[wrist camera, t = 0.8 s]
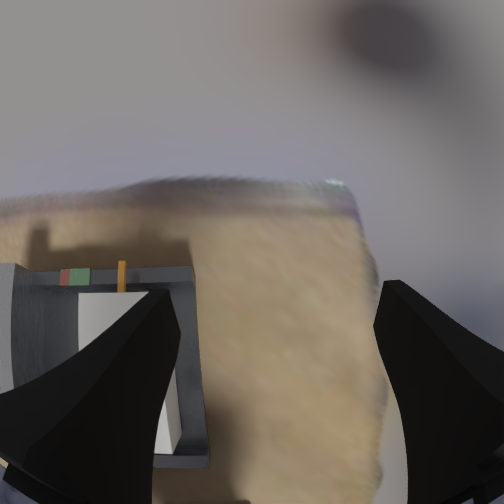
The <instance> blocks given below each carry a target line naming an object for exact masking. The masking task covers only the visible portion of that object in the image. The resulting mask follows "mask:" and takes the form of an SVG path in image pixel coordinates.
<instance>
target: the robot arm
mask: <svg viewBox="0 0 504 504" xmlns="http://www.w3.org/2000/svg"><path fill="white" fill-rule="evenodd" d="M373 328H374V332H375V336H376V341H377V345H378V349H379V352H380V355H381V358H382V360H383V363H384V366H385V369H386V371H387V374H388V377H389V380H390V382H391V385H392V388H393V391H394V394H395V397H396V399H397V403H398V406H399V410H400V414H401V419H402V425H403V431H404V437H405V445H406V454H407V468H408V501H407V504H504V352H503V351H501V350H499V349H497V348H496V347H494V346H492V345H491V344H489V343H487V342H486V341H484V340H482V339H481V338H479V337H478V336H476V335H474V334H473V333H471V332H470V331H468V330H467V329H466V328H464V327H463V326H461V325H460V324H459V323H457V322H456V321H454V320H453V319H452V318H450V317H449V316H448V315H446V314H445V313H444V312H442V311H441V310H440V309H439V308H437V307H436V306H435V305H433V304H432V303H431V302H429V301H428V300H427V299H426V298H424V297H423V296H422V295H420V294H419V293H418V292H416V291H415V290H414V289H412V288H411V287H410V286H408V285H407V284H405V283H404V282H402V281H401V280H389V281H384V283H383V288H382V292H381V296H380V301H379V305H378V309H377V313H376V317H375V321H374V324H373ZM180 338H181V331H180V327H179V324H178V321H177V317H176V314H175V310H174V307H173V303H172V299H171V296H170V292H169V289H152V290H151V291H150V292H148V293H147V294H146V295H145V296H144V297H142V298H141V299H140V300H139V301H138V302H137V303H136V304H134V305H133V306H132V307H131V308H130V309H129V310H128V311H127V312H126V313H124V314H123V315H122V316H121V317H120V318H119V319H118V320H117V321H116V322H114V323H113V324H112V325H111V326H110V327H109V328H107V329H106V330H105V331H104V332H103V333H101V334H100V335H99V336H98V337H97V338H95V339H94V340H93V341H92V342H91V343H89V344H88V345H87V346H86V347H84V348H83V349H82V350H80V351H79V352H77V353H76V354H75V355H73V356H72V357H70V358H69V359H67V360H66V361H64V362H63V363H61V364H60V365H58V366H56V367H55V368H53V369H51V370H50V371H48V372H46V373H44V374H43V375H41V376H39V377H37V378H36V379H34V380H32V381H30V382H28V383H25V384H23V385H21V386H19V387H17V388H14V389H12V390H9V391H7V392H4V393H1V394H0V457H1V458H2V459H4V460H5V461H6V462H8V463H9V464H8V466H7V469H6V468H5V467H3V466H2V465H1V464H0V504H152V473H153V460H154V451H155V443H156V436H157V429H158V423H159V418H160V414H161V410H162V407H163V403H164V400H165V397H166V393H167V390H168V387H169V383H170V380H171V377H172V374H173V370H174V367H175V364H176V360H177V356H178V351H179V345H180Z"/></svg>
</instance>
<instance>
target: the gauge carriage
mask: <svg viewBox="0 0 504 504" xmlns="http://www.w3.org/2000/svg"><path fill="white" fill-rule="evenodd" d="M147 293H148V292H126V261H118V287H117V293H79V303H78V339H79V351H80V350H82V349H83V348H84V347H86V346H87V345H88V344H89V343H91V342H92V341H93V340H94V339H95V338H97V337H98V336H99V335H100V334H101V333H103V332H104V331H105V330H106V329H107V328H109V327H110V326H111V325H112V324H113V323H114V322H116V321H117V320H118V319H119V318H120V317H121V316H122V315H123V314H124V313H126V312H127V311H128V310H129V309H130V308H131V307H132V306H133V305H134V304H136V303H137V302H138V301H139V300H140V299H141V298H142V297H144V296H145V295H146V294H147ZM181 435H182V430H181V422H180V414H179V405H178V396H177V386H176V375H175V367H174V370H173V374H172V377H171V380H170V383H169V387H168V390H167V393H166V397H165V400H164V403H163V407H162V410H161V414H160V418H159V423H158V429H157V436H156V443H155V451H154V453H160V454H173V452H174V450H175V448H176V445H177V443H178V441H179V439H180V437H181Z"/></svg>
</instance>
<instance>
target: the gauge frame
mask: <svg viewBox="0 0 504 504" xmlns="http://www.w3.org/2000/svg"><path fill="white" fill-rule="evenodd" d="M117 287H118V269H102V270H91V268H79V269H61V271H47V272H32V271H30V270H28V269H26V268H24V267H22V266H20V265H19V264H17V263H1V264H0V394H1V393H4V392H7V391H9V390H12V389H14V388H17V387H19V386H21V385H23V384H25V383H28V382H30V381H32V380H34V379H36V378H37V377H39V376H41V375H43V374H44V373H46V372H48V371H50V370H51V369H53V368H55V367H56V366H58V365H60V364H61V363H63V362H64V361H66V360H67V359H69V358H70V357H72V356H73V355H75V354H76V353H77V352H79V339H78V303H79V293H117ZM152 289H169V292H170V296H171V299H172V303H173V307H174V310H175V314H176V317H177V321H178V324H179V327H180V331H181V338H180V345H179V351H178V356H177V360H176V364H175V375H176V386H177V396H178V405H179V414H180V422H181V430H182V435H181V437H180V439H179V441H178V443H177V445H176V448H175V450H174V452H173V454H160V453H154V460H153V467H154V468H175V469H208V468H209V464H210V448H209V440H208V433H207V424H206V416H205V407H204V397H203V387H202V377H201V365H200V353H199V339H198V324H197V306H196V285H195V274H194V271H193V268H192V266H171V267H149V268H126V292H150V291H151V290H152Z"/></svg>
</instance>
